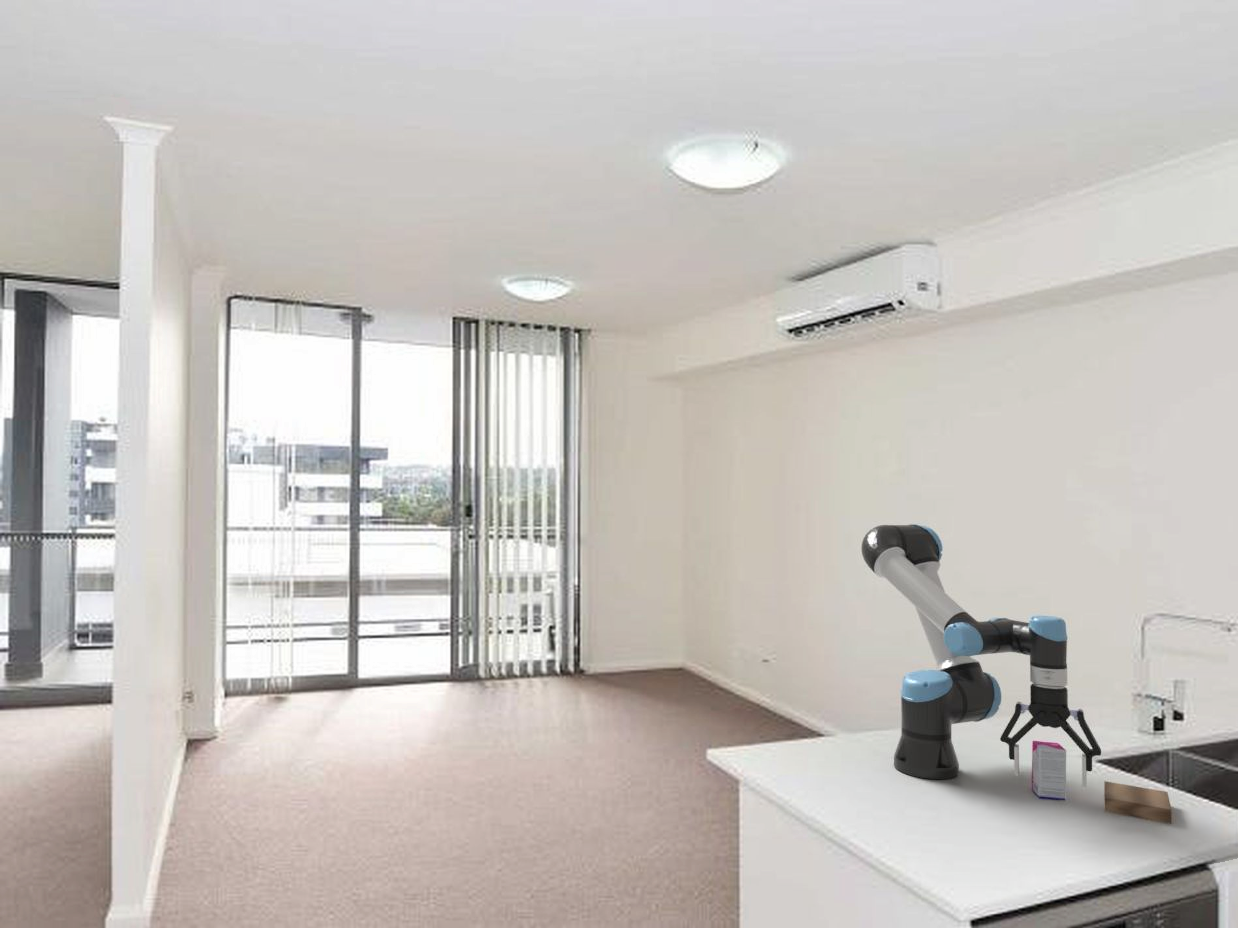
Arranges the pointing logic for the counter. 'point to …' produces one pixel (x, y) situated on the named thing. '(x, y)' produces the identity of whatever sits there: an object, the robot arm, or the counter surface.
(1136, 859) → the counter surface
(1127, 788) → the wooden block
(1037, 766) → the supplement box
